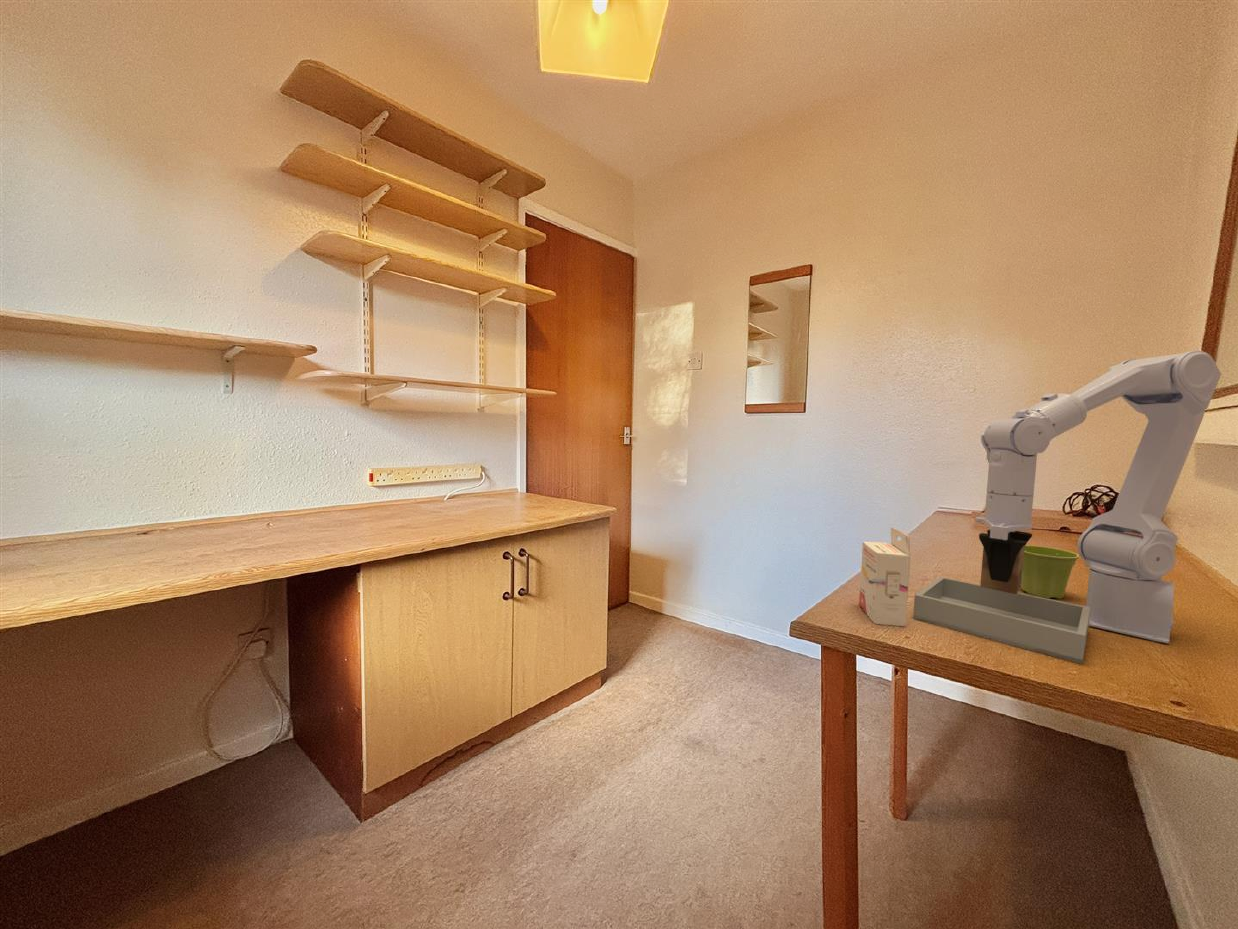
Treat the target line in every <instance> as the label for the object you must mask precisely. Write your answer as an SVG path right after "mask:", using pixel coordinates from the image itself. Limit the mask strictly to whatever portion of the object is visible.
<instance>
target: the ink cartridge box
mask: <svg viewBox="0 0 1238 929" xmlns="http://www.w3.org/2000/svg"><path fill="white" fill-rule="evenodd" d="M898 537H900V539H901V540H902V541H900V540H899V539H898ZM890 540H891V542H878V541H865V540H864V541H862V548H861V549H862V550H861V554H862V555H861V568H860V569H861V570H860V585H859V598H858V599H859V600H858V606H859V605H860V606H861V607H862V608H863V609H862V608H861V607H860V606H859V607H860V608H861V609H862V610H863V612H864V611H865V612H864V613H865V614H866V613H867V614H866V615H867V617H868V616H869V617H868V618H869V619H870V620H871V619H872V620H871V621H873V622H874V623H873V622H872V623H873V624H874V625H884V626H894V627H906V626H907V612H908V598H909V597H908V595H909V580H910V568H911V566H910V564H911V545H910V544H911V542H910V541H911V540H910V536H909V535H908V534H907V533H904V532H903V531H902V530H900V529H897V528H895V527H894V526H891V527H890Z"/></svg>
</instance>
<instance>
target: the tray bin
mask: <svg viewBox="0 0 1238 929" xmlns="http://www.w3.org/2000/svg"><path fill="white" fill-rule="evenodd" d="M913 600H914V602H913V603H914V604H913V613H912V614H913V616H912V618H913V619H914V620H917V621H922V622H924V623H928V624H932V625H935V626H940V627H943V628H947V629H951V630H955V631H958V632H962V633H965V634H968V635H973V636H976V637H980V638H984V639H986V640H991V641H994V642H999V643H1002V644H1005V645H1009V646H1013V647H1017V648H1020V649H1024V650H1027V651H1031V652H1034V653H1039V654H1042V655H1046V656H1050V657H1054V658H1057V659H1061V660H1064V661H1068V662H1073V663H1075V664H1080V665H1083V664H1084V656H1085V653H1086V652H1085V651H1086V646H1087V640H1088V635H1089V634H1088V633H1089V627H1090V626H1089V616H1090V607H1086V605H1081V604H1076V603H1072V602H1071V603H1070V602H1067V601H1060V600H1056V599H1051V598H1043V597H1039V596H1034V595H1031V594H1029V593H1022V592H1018V593H1017V594H1012V593H1008V592H1003V591H998V590H993V589H989V588H984V587H980V583H979V584H978V583H975V582H969V581H965V580H964V581H963V580H959V579H953V578H950V577H945V576H939V577H937V578H935V580H933V581H932V582H930V583H929V584H927V586H925V587H923V588H922V589H921V590H920V591H918V592H917V593H915V594H914V598H913Z"/></svg>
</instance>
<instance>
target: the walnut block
mask: <svg viewBox="0 0 1238 929" xmlns="http://www.w3.org/2000/svg"><path fill="white" fill-rule="evenodd" d="M982 547H983V546H982ZM982 550H983V551H982V561H981V571H980V572H981V573H980V583H979V585H980V587H984V588H989V589H993V590H998V591H1003V592H1008V593H1012V594H1017V593H1019V591H1020V590H1021V589H1022V586H1021V578H1022V567H1023V556H1024V546H1023V547H1022V548H1021V550H1020V552H1019V554H1018V556H1017V558H1016V560H1015V563H1014V567H1013V570H1012V574H1011V577H1010V579H1009V581H1008V582H1002V581H997V580H992V579H991V577H990V573H989V567H988V561H987V556H986V552H985V549H984V547H983V548H982Z"/></svg>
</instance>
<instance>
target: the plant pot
mask: <svg viewBox="0 0 1238 929" xmlns="http://www.w3.org/2000/svg"><path fill="white" fill-rule="evenodd" d="M1080 557H1081V556H1080V555H1079V553H1076V552H1073V551H1070V550H1065V549H1062V548H1061V549H1060V548H1054V547H1048V546H1043V545H1042V546H1041V545H1033V544H1030V545H1028V544H1026V545H1025V547H1024V556H1023V567H1022V578H1021V591H1022V592H1026V594H1028V595H1032V596H1037V597H1042V598H1047V599H1051V598H1055V599H1058V600H1060V599H1063V598H1064V597H1065V593H1066V590H1067V586H1068V582H1069V579H1070V575H1071V574H1072V573H1071V572H1072V569H1073V567H1074V566H1075V565H1076V563H1077V560H1079V559H1080Z"/></svg>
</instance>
